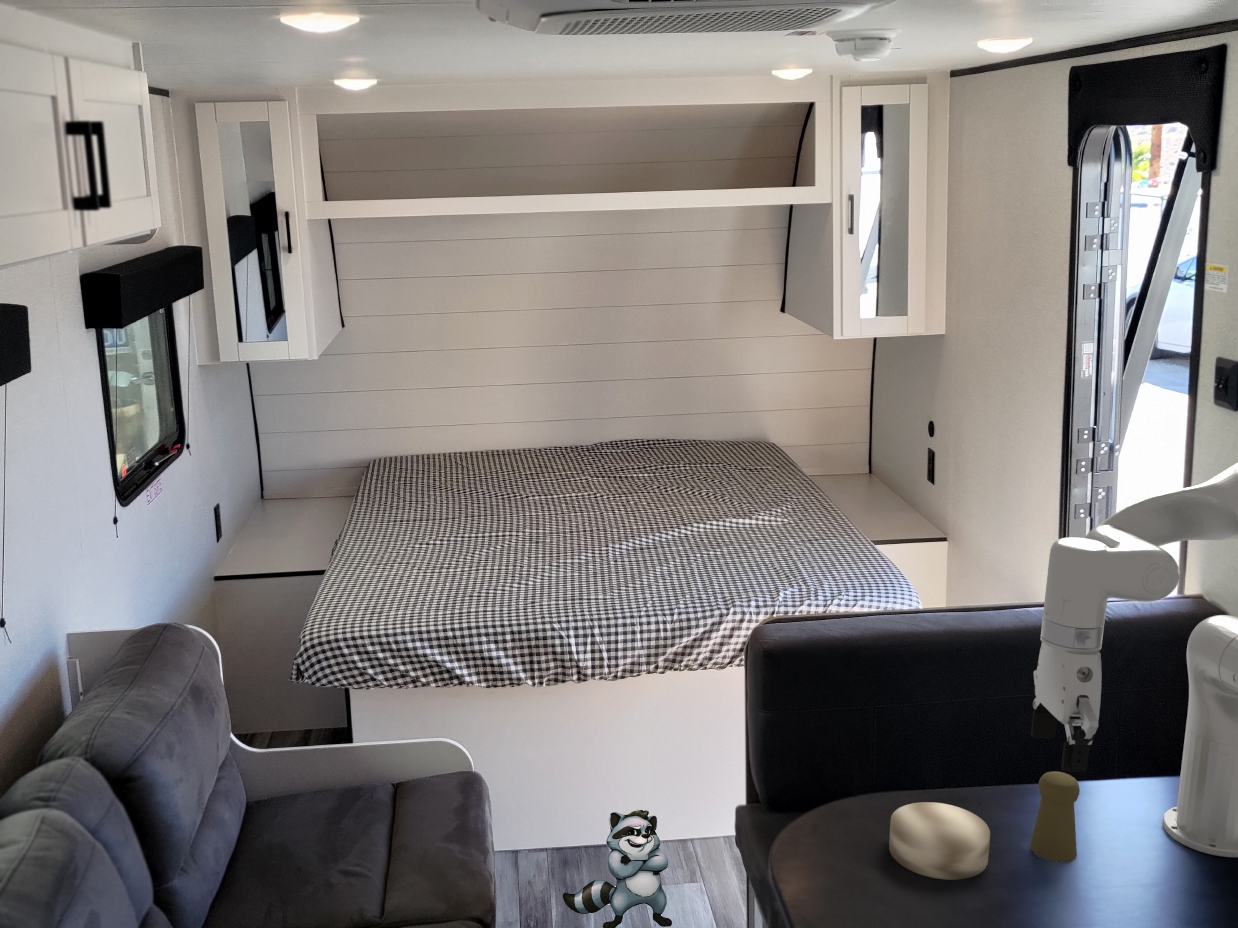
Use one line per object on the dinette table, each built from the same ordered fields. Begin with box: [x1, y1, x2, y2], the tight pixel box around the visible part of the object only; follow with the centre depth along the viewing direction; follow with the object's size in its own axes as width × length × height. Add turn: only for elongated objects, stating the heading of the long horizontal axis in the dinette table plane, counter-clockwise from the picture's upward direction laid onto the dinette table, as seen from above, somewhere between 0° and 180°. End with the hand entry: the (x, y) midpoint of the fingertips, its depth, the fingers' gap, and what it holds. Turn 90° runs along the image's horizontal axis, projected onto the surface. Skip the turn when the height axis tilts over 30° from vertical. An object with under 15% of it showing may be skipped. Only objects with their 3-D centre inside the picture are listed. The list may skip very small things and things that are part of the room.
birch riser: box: [888, 801, 991, 881], centre depth 156 cm, size 13×13×4 cm
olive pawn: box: [1029, 771, 1081, 863], centre depth 156 cm, size 6×6×11 cm
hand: (1057, 753), depth 154 cm, fingers open, 9 cm apart
